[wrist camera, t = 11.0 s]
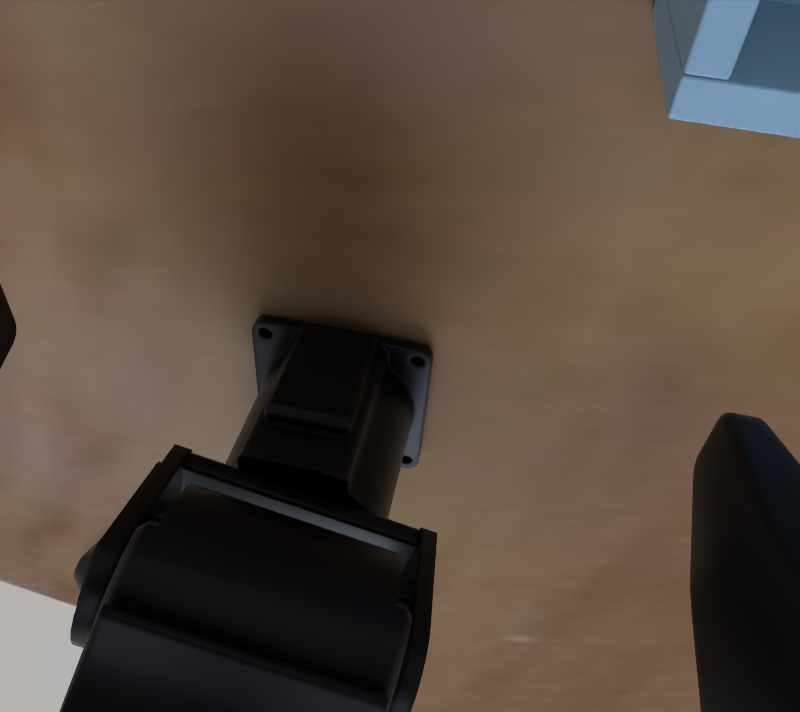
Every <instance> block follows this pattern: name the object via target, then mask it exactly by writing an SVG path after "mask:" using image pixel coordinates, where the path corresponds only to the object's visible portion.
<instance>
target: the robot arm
mask: <svg viewBox="0 0 800 712" xmlns="http://www.w3.org/2000/svg"><path fill="white" fill-rule="evenodd" d="M264 328H267V329H269V330H270V331H267V330H266V329H264ZM252 335H253V345H254V355H255V365H256V375H257V385H258V396H257V398H256V400H255V402H254V404H253V406H252V409H251V411H250V413H249V415H248V417H247V419H246V421H245V423H244V425H243V428H242V430H241V432H240V434H239V436H238V438H237V440H236V442H235V444H234V446H233V449H232V451H231V453H230V455H229V457H228V459H227V461H226V463H225V464H224V463H221V462H218V461H215V460H212V459H209V458H206V457H203V456H200V455H197V454H194V453H192V450H191V449H188V448H185V447H182V446H179V445H176V444H175V445H174V446H173V448H172V449H171V450H170V452H169V453H168V454H167V456H166V457H165V459H164V460H163V461H162V462H158V463H157V464H156V465H155V466H154V468H153V469H152V470H151V472H150V473H149V475H148V476H147V477H146V479H145V480H144V481H143V483H142V484H141V485H140V487H139V488H138V489H137V491H136V492H135V494H134V495H133V496H132V498H131V499H130V500H129V502H128V503H127V504H126V506H125V507H124V508H123V510H122V511H121V512H120V514H119V515H118V517H117V518H116V519H115V521H114V522H113V523H112V525H111V526H110V527H109V529H108V530H107V531H106V533H105V534H104V536H103V537H102V538H101V539H100V540H99V541H98V542H97V543H96V544H95V545H94V546H93V547H92V548H91V549H90V550H89V551H88V552H87V553H85V554H84V555H83V556H82V558H81V559H80V561H79V562H78V564H77V566H76V569H75V572H74V579H75V582H76V585H77V587H78V590H79V593H80V594H79V598H78V602H77V607H76V611H75V614H74V618H73V622H72V628H71V642H72V644H73V645H76V646H79V647H82V648H84V649H83V652H82V654H81V657H80V660H79V662H78V665H77V668H76V670H75V673H74V675H73V678H72V681H71V683H70V686H69V688H68V691H67V694H66V696H65V699H64V701H63V704H62V707H61V709H60V712H411V710H412V707H413V704H414V701H415V698H416V695H417V691H418V688H419V684H420V681H421V677H422V673H423V669H424V664H425V660H426V655H427V650H428V644H429V637H430V628H431V614H432V600H433V585H434V571H435V556H436V542H437V533H436V532H433V531H430V530H427V529H424V528H420V529H416V528H413V527H410V526H407V525H404V524H401V523H398V522H395V521H392V520H389V519H388V515H389V511H390V507H391V503H392V499H393V495H394V492H395V488H396V484H397V480H398V476H399V472H400V468H401V467H405V468H411V467H414V466H416V465H417V463H418V460H419V456H420V450H421V442H422V435H423V428H424V420H425V413H426V406H427V399H428V391H429V384H430V377H431V370H432V362H433V352H432V351H431V349H430V348H429V347H427V346H426V345H423V344H419V343H414V342H409V341H403V340H398V339H392V338H387V337H382V336H376V335H371V334H365V333H360V332H355V331H349V330H344V329H339V328H333V327H328V326H322V325H317V324H312V323H306V322H301V321H295V320H290V319H285V318H279V317H274V316H268V315H263V316H260V317H259V318H258V319H257V320H256V322H255V324H254V325H253V328H252ZM15 336H16V322H15V319H14V317H13V314H12V312H11V309H10V307H9V304H8V302H7V299H6V297H5V294H4V292H3V289H2V287H1V284H0V368H1V366H2V364H3V362H4V360H5V358H6V357H7V355H8V353H9V351H10V349H11V347H12V345H13V342H14V340H15ZM414 356H418V357H421V358H422V359H416V358H415V357H414ZM690 595H691V611H692V622H693V632H694V643H695V654H696V664H697V675H698V686H699V696H700V707H701V712H800V464H799V463H798V462H797V460H796V459H795V458H794V457H793V455H792V454H791V453H790V452H789V451H788V449H787V448H786V447H785V446H784V444H783V443H782V442H781V441H780V439H779V438H778V437H777V436H776V435H775V433H774V432H773V431H772V430H771V428H770V427H769V426H768V425H767V424H766V423H765V422H764V421H763V420H762V419H760V418H757V417H752V416H747V415H741V414H736V413H725V414H723V415H722V416H721V417H720V418H719V419H718V421H717V422H716V424H715V426H714V428H713V430H712V431H711V433H710V435H709V437H708V438H707V440H706V442H705V444H704V446H703V447H702V449H701V451H700V453H699V455H698V457H697V460H696V463H695V467H694V475H693V505H692V537H691V570H690Z"/></svg>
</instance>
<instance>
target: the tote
mask: <svg viewBox="0 0 800 712" xmlns="http://www.w3.org/2000/svg"><path fill="white" fill-rule="evenodd" d="M652 18H653V26H654V32H655V39H656V45H657V51H658V58H659V64H660V70H661V77H662V83H663V89H664V96H665V102H666V108H667V115H668V118H670V119H676V120H682V121H689V122H696V123H702V124H709V125H716V126H722V127H729V128H736V129H742V130H749V131H756V132H762V133H769V134H776V135H782V136H789V137H796V138H800V0H656V1H655V4H654V8H653V11H652Z"/></svg>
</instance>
